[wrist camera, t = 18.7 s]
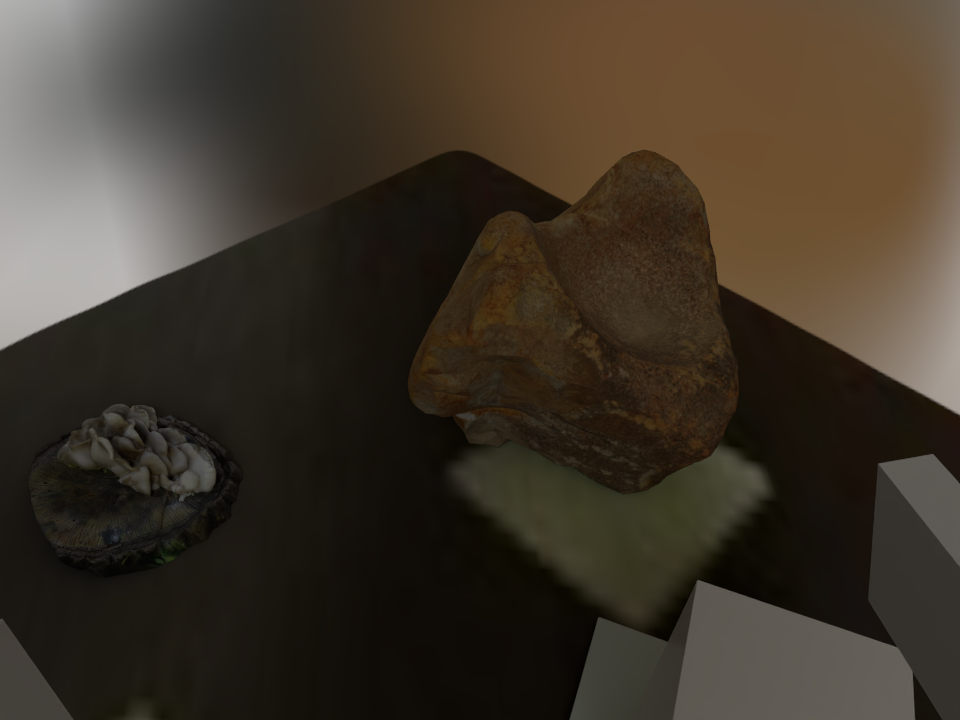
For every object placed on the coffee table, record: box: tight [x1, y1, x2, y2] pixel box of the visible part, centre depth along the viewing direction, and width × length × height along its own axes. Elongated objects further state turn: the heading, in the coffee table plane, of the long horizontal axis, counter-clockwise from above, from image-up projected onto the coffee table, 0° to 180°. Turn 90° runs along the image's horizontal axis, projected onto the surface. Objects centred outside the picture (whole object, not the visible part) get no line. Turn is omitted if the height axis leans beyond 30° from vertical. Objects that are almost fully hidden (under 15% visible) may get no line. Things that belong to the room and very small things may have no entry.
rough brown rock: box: [408, 150, 738, 494], centre depth 47 cm, size 23×17×15 cm
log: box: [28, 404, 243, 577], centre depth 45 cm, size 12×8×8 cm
